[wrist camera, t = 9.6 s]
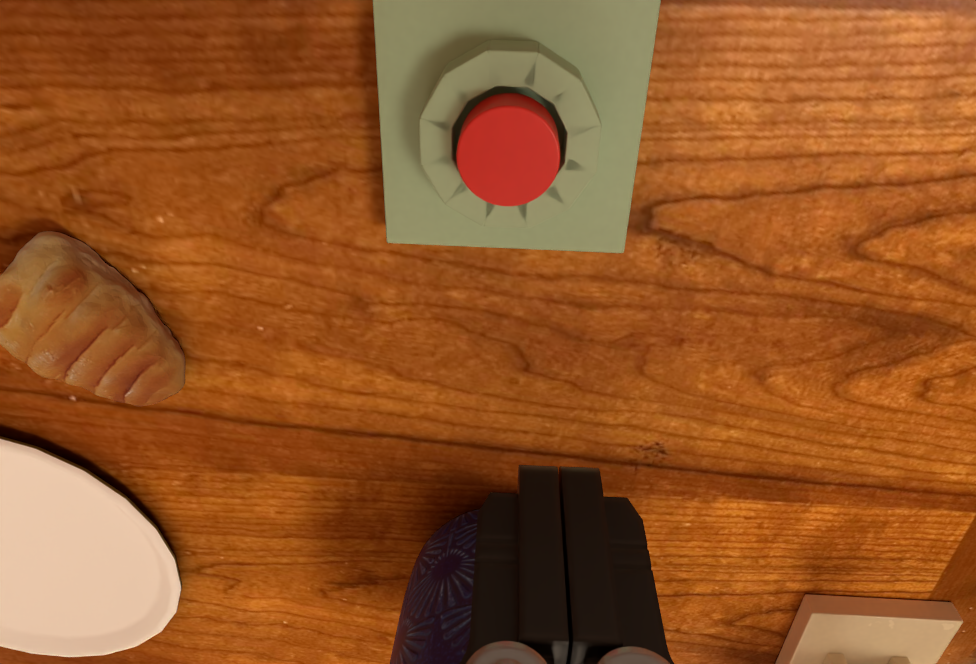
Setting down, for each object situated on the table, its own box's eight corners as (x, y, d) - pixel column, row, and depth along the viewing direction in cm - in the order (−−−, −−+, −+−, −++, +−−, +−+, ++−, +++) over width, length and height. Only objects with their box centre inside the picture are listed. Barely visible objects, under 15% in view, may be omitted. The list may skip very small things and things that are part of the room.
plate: (99, 677, 52) (90, 694, 51) (-200, 541, 45) (-217, 557, 44) (249, 547, 43) (242, 564, 42) (-94, 352, 36) (-112, 366, 35)
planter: (645, 585, 44) (676, 773, 35) (472, 635, 47) (459, 818, 38) (558, 452, 38) (568, 636, 29) (369, 522, 42) (325, 704, 33)
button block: (654, -16, 25) (671, -2, 22) (619, 236, 31) (629, 274, 28) (379, -26, 26) (360, -13, 23) (392, 226, 31) (379, 263, 28)
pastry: (224, 340, 35) (194, 387, 32) (153, 409, 38) (118, 459, 34) (51, 210, 31) (-3, 249, 28) (-14, 297, 34) (-70, 341, 31)
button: (562, 93, 25) (565, 107, 23) (554, 190, 27) (556, 209, 25) (460, 89, 25) (455, 103, 23) (459, 186, 27) (455, 205, 25)
